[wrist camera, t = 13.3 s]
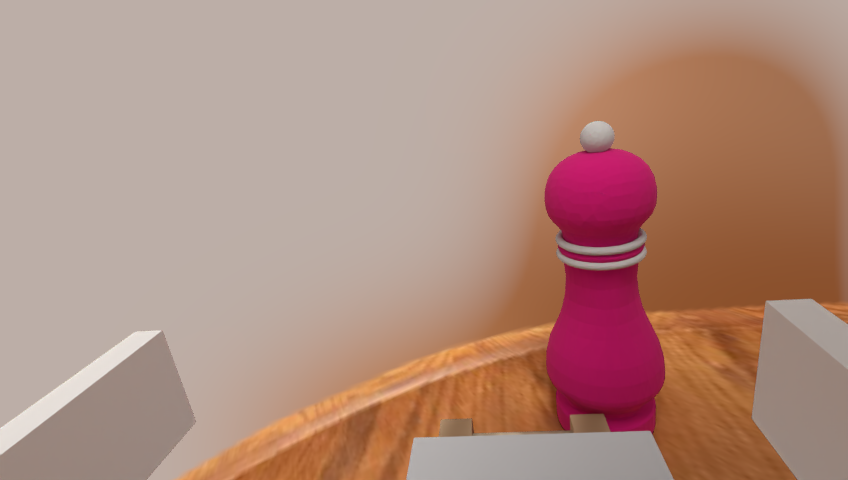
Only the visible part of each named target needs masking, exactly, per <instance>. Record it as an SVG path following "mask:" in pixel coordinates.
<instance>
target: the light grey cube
mask: <svg viewBox="0 0 848 480" xmlns="http://www.w3.org/2000/svg"><path fill="white" fill-rule="evenodd" d="M406 480H674V479H673V477H672V475H671V473H670V471H669V469H668V467H667V464H666V462H665V460H664V458H663V456H662V454H661V452H660V450H659V448H658V446H657V444H656V442H655V439H654V437H653V435H652V433H651V431H627V432H594V433H560V434H526V435H492V436H458V437H425V438H414V440H413V445H412V451H411V457H410V462H409V468H408V473H407V479H406Z"/></svg>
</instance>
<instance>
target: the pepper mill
mask: <svg viewBox="0 0 848 480" xmlns="http://www.w3.org/2000/svg"><path fill="white" fill-rule="evenodd" d="M613 141H614V131H613V129H612V128H611V126H610V125H609V124H607V123H605V122H602V121H595V122H591V123H589V124H588V125H587V126H585V128H584V129H583V130H582V132H581V135H580V143H581V145H582V147H583V148H584V149H585V150H586V151H582V152H578V153H576V154H573V155H571V156H569V157H567V158H566V159H564V160H563V161H561V162H560V163H559V164H558V165H557V166H556V167H555V168H554V170H553V171H552V172H551V174H550V175H549V178H548V180H547V184H546V188H545V206H546V210H547V213H548V216H549V217H550V219H551V220H552V221H553V222H554V223H555V224H556V225H557V226H558V227H559V228H560V231H559V232H558V234H557V235H556V242H557V244H558V248H557V252H556V253H557V256H558V258H559V259H560V260H561V261H562V262H563V263H564V265H565V272H566V287H565V297H564V302H563V306H562V309H561V312H560V314H559V317H558V319H557V321H556V323H555V325H554V327H553V330H552V332H551V334H550V338H549V342H548V346H547V355H546V365H547V372H548V375H549V377H550V379H551V381H552V383H553V385H554V386H555V387H556V388H557V392H556V403H557V415H558V418H559V422H560V424H561V425H562V427H563V428H564V429H565V430H570V415H578V414H604V416H605V418H606V421H607V424H608V426H609V429H610V432H627V431H651V433H652V434H653V431H654V428H655V416H656V404H655V399H654V397H655V396H656V395H657V394H658V393H659V391H660V390H661V388H662V386H663V383H664V380H665V364H664V356H663V352H662V349H661V346H660V342H659V339H658V337H657V335H656V333H655V331H654V329H653V327H652V325H651V323H650V321H649V319H648V317H647V315H646V313H645V311H644V309H643V306H642V303H641V299H640V296H639V290H638V281H637V271H638V263H639V262H640V261H641V260H643V259H644V257H645V256H646V252H647V251H646V248H645V241H646V238H647V235H646V233H645V231H644V230H643V229H641V228H640V227H641V226H642V224H643V223H644V222H645V221H646V220H647V219H648V218H649V217H650V216H651V214H652V213H653V210H654V208H655V206H656V201H657V186H656V182H655V177H654V174H653V173H652V171H651V169H650V168H649V166H648V165H647V164H646V163H645V162H644V161H643V160H642V159H641V158H639V157H638V156H636V155H634V154H632V153H630V152H627V151H624V150H620V149H611V148H610V147H611V145H612V144H613Z"/></svg>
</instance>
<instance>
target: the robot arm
mask: <svg viewBox="0 0 848 480" xmlns="http://www.w3.org/2000/svg"><path fill="white" fill-rule="evenodd" d="M752 420H753V421H754V422H755V424H756V425H757V426H758V428H759V429H760V430H761V432H762V433H763V434H764V436H765V437H766V438H767V440H768V441H769V442H770V444H771V445H772V446H773V448H774V449H775V450H776V452H777V453H778V454H779V456H780V457H781V458H782V460H783V461H784V462H785V464H786V465H787V466H788V468H789V469H790V470H791V472H792V473H793V474H794V476H795V477H796V478H797V480H848V324H846V323H845V322H844V321H842V320H841V319H839V318H838V317H837V316H835V315H834V314H832V313H831V312H829V311H828V310H827V309H825V308H824V307H822V306H821V305H820V304H818V303H817V302H815V301H814V300H812V299H798V300H797V299H796V300H777V301H766V303H765V312H764V320H763V328H762V336H761V345H760V353H759V361H758V369H757V378H756V386H755V394H754V402H753V411H752ZM195 422H196V420H195V417H194V415H193V412H192V409H191V406H190V404H189V401H188V398H187V396H186V393H185V390H184V388H183V385H182V382H181V379H180V376H179V374H178V371H177V368H176V366H175V363H174V360H173V357H172V355H171V352H170V350H169V347H168V344H167V341H166V338H165V336H164V333H163V331H162V330H158V331H138V332H134V333H133V334H131V335H130V336H129V337H127V338H126V339H124V340H123V341H121V342H120V343H119V344H117V345H116V346H114V347H113V348H112V349H110V350H109V351H107V352H106V353H105V354H103V355H102V356H101V357H99V358H98V359H96V360H95V361H94V362H92V363H91V364H89V365H88V366H87V367H85V368H84V369H82V370H81V371H80V372H78V373H77V374H75V375H74V376H73V377H71V378H70V379H68V380H67V381H66V382H64V383H63V384H61V385H60V386H59V387H57V388H56V389H55V390H53V391H52V392H50V393H49V394H47V395H46V396H45V397H43V398H42V399H41V400H39V401H38V402H36V403H35V404H33V405H32V406H31V407H29V408H28V409H26V410H25V411H24V412H22V413H21V414H19V415H18V416H17V417H15V418H14V419H13V420H11V421H10V422H8V423H7V424H6V425H4V426H3V427H1V428H0V480H147V479H148V477H149V476H150V475H151V474H152V473H153V472H154V470H155V469H156V468H157V467H158V466H159V465H160V463H161V462H162V461H163V460H164V459H165V458H166V456H167V455H168V454H169V453H170V452H171V451H172V449H173V448H174V447H175V446H176V445H177V444H178V442H179V441H180V440H181V439H182V438H183V437H184V435H185V434H186V433H187V432H188V431H189V430H190V428H191V427H192V426H193V425H194V424H195Z"/></svg>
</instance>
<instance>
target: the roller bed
mask: <svg viewBox="0 0 848 480" xmlns="http://www.w3.org/2000/svg"><path fill="white" fill-rule="evenodd" d="M594 432H610V429H609V426H608V424H607V421H606V418H605V416H604V414H578V415H570V430H564V431H533V432H502V433H474V430H473V422H472V418H471V419H444V420H441V423H440V432H439V437H458V436H492V435H526V434H560V433H594Z"/></svg>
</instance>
